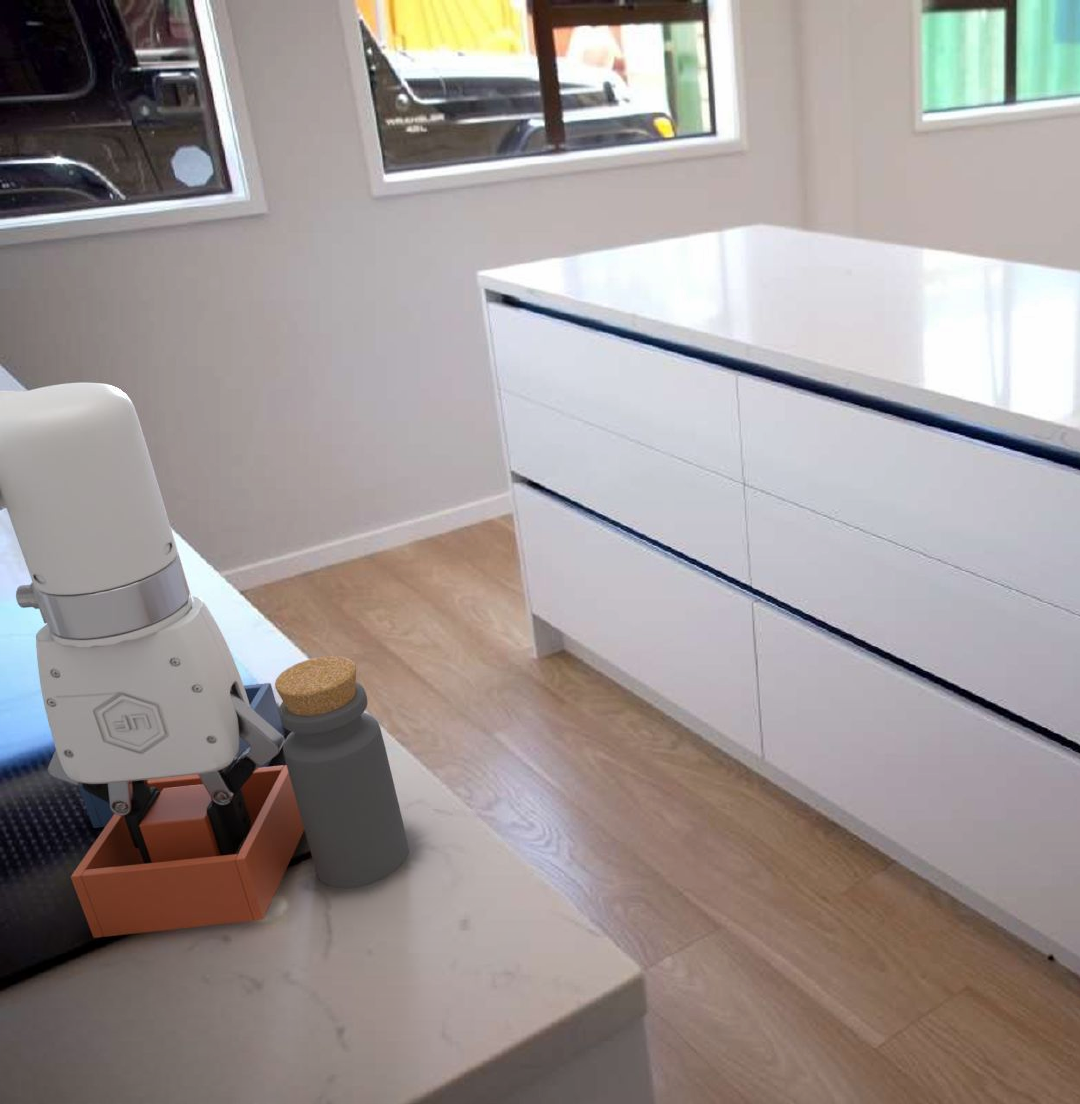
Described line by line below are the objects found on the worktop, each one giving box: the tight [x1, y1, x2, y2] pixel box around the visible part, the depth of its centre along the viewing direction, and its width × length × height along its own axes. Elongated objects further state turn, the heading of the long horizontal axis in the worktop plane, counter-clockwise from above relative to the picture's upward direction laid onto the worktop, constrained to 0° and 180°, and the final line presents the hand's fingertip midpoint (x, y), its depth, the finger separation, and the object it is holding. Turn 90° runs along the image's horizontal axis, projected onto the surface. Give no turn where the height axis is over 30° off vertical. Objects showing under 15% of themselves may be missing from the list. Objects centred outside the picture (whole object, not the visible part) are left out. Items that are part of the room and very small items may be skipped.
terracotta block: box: [139, 785, 221, 863], centre depth 81 cm, size 4×4×4 cm
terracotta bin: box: [70, 764, 305, 939], centre depth 81 cm, size 10×10×6 cm
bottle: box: [274, 655, 410, 889], centre depth 80 cm, size 6×6×15 cm
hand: (197, 846), depth 81 cm, fingers closed on terracotta block, 4 cm apart
